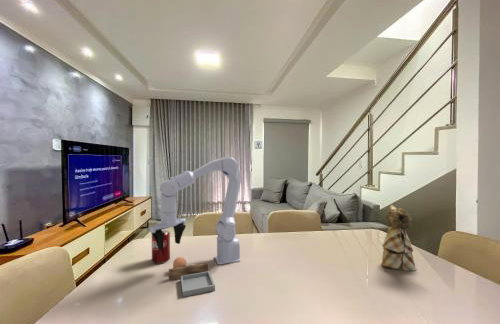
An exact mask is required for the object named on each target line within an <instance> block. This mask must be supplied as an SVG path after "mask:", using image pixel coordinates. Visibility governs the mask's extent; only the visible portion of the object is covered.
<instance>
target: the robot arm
mask: <svg viewBox="0 0 500 324" xmlns="http://www.w3.org/2000/svg"><path fill="white" fill-rule="evenodd" d="M213 171H215V172H216V171H218V172H220V173H223V174H224V176H226V178H227V179H228V182H227V189H226V193H225V198H224V203H223V209H222V213H221V216H220V217H219V218H218V219H219V220H218V222H217V224H216V226H215V233H216V234H217V237H216V255H214V259H215V261H216V263H217V264H218V265H223V264H230V263H237V262H240V261H241V259H240V257H241V256H240V255H241V254H240V249H241V248H240V247H241V246H240V245H241V244H240V240H239V238H238V237H236V235H237V234H236V233H237V232H236V221H235V214H236V208H237V202H238V198H239V192H240V186H241V183H242V174H241V170H240V167H239V162H238V161H237V160H236V159H235V158H234V157H232V156H228V157H224V156H222V157H219V158H217V159H214V160H211V161H209V162H207V163H205V164H204V165H202V166H200V167H198V168H196V169H195V170H192V171H190V170H186V171H185V170H182V171H181V173H178V174H177V175H175V176H171V177H169V179H166V180H164V181H162V182H161V184H160V187H159V190H160V192H161V195H160V223H157V224H154V225H152V226H150V227H149V231H150V233H151V236H152V235H153V237H154V238H155V240H156V243H157V246H158V249H159V250H163V239H164V234H165V233H164V232H162V231H161V230H166V229H169V228H172V227H173V231H174V243H175V244H178V245H179V244H180V243H181V239H182V236H183V234H184V231H185V229H186V225H187V224H186V223H187V220H186V218H177V217H178V216H177V215H178V214H177V209H178V208H177V206H178V205H177V196H176V195H177V192H178V191H181V190H183V189H185V188H187V187H189V186H191V185H194V183H195V182H196V179H198V178H200V177H203V176H204V175H207V174H209V173H211V172H213Z"/></svg>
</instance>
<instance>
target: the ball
mask: <svg viewBox="0 0 500 324" xmlns="http://www.w3.org/2000/svg"><path fill="white" fill-rule="evenodd" d="M185 266H187V260H186V259H185V258H184V257H182V256H179V257H176V258H175V259H174V260H173V263H172V268H179V267H185Z"/></svg>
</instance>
